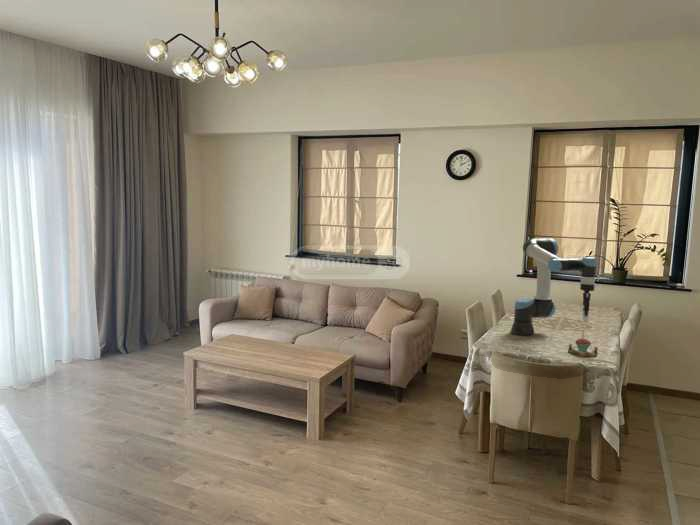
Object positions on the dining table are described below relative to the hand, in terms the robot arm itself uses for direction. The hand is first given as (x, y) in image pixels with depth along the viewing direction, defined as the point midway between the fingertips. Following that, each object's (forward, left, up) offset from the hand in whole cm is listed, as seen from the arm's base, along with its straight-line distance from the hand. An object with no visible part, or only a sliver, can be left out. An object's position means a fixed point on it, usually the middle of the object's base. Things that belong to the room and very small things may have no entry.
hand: (584, 318), depth 311 cm
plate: (0, 0, -21) cm, 21 cm away
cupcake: (0, 0, -19) cm, 19 cm away
